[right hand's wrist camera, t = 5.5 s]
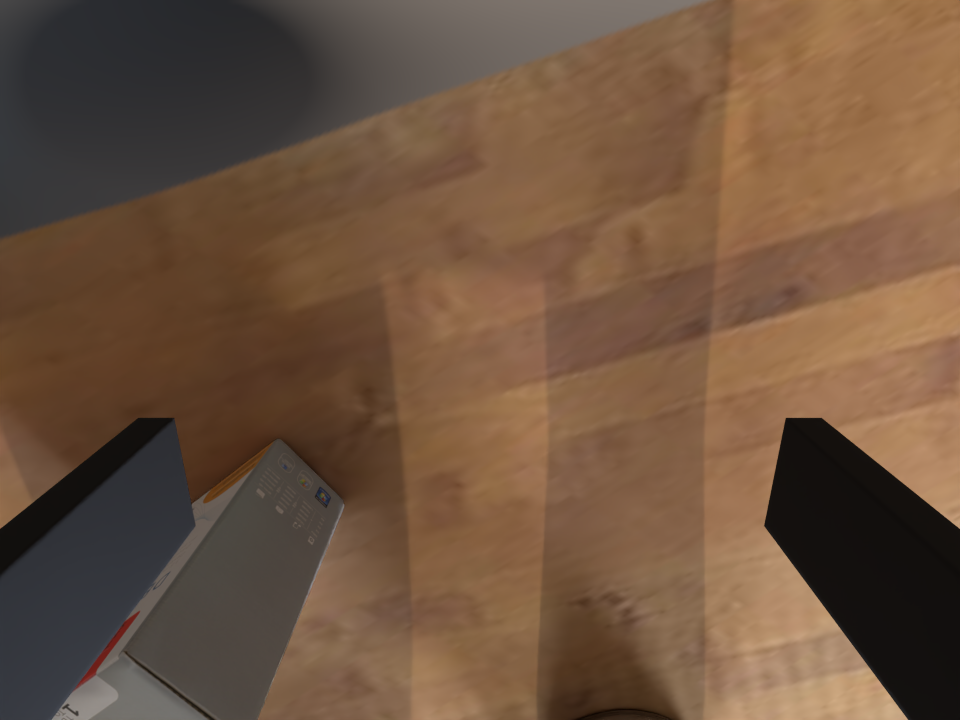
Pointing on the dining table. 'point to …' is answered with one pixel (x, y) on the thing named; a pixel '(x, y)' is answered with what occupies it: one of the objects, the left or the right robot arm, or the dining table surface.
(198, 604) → the hard drive box
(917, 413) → the dining table surface
